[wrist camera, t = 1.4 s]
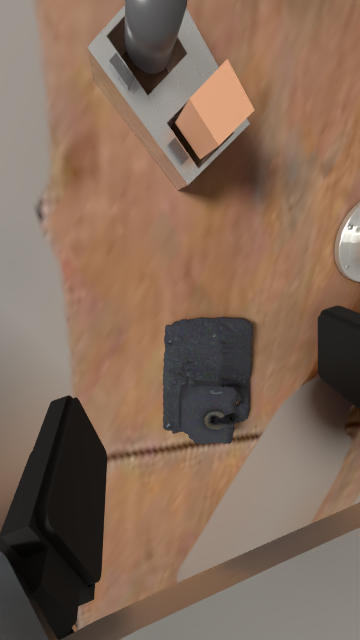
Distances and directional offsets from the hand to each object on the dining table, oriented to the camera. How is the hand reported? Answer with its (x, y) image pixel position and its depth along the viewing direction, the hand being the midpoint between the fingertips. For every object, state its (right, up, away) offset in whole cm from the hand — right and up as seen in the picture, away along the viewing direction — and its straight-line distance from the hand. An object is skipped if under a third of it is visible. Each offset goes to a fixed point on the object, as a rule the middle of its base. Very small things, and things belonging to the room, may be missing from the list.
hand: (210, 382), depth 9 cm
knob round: (-4, +24, +11) cm, 27 cm away
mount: (-3, +24, +17) cm, 29 cm away
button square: (+1, +20, +13) cm, 24 cm away
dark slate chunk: (+3, -7, +32) cm, 33 cm away
